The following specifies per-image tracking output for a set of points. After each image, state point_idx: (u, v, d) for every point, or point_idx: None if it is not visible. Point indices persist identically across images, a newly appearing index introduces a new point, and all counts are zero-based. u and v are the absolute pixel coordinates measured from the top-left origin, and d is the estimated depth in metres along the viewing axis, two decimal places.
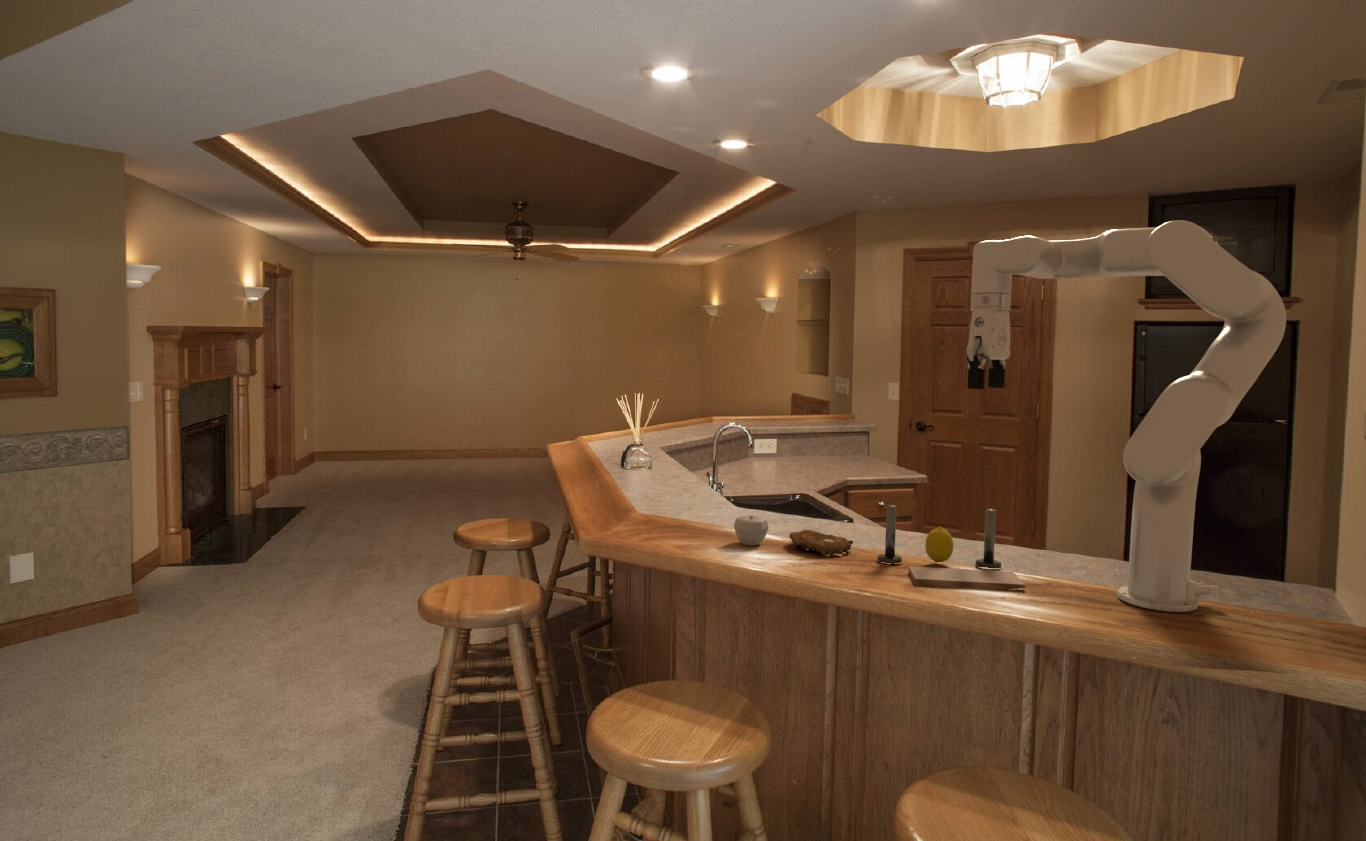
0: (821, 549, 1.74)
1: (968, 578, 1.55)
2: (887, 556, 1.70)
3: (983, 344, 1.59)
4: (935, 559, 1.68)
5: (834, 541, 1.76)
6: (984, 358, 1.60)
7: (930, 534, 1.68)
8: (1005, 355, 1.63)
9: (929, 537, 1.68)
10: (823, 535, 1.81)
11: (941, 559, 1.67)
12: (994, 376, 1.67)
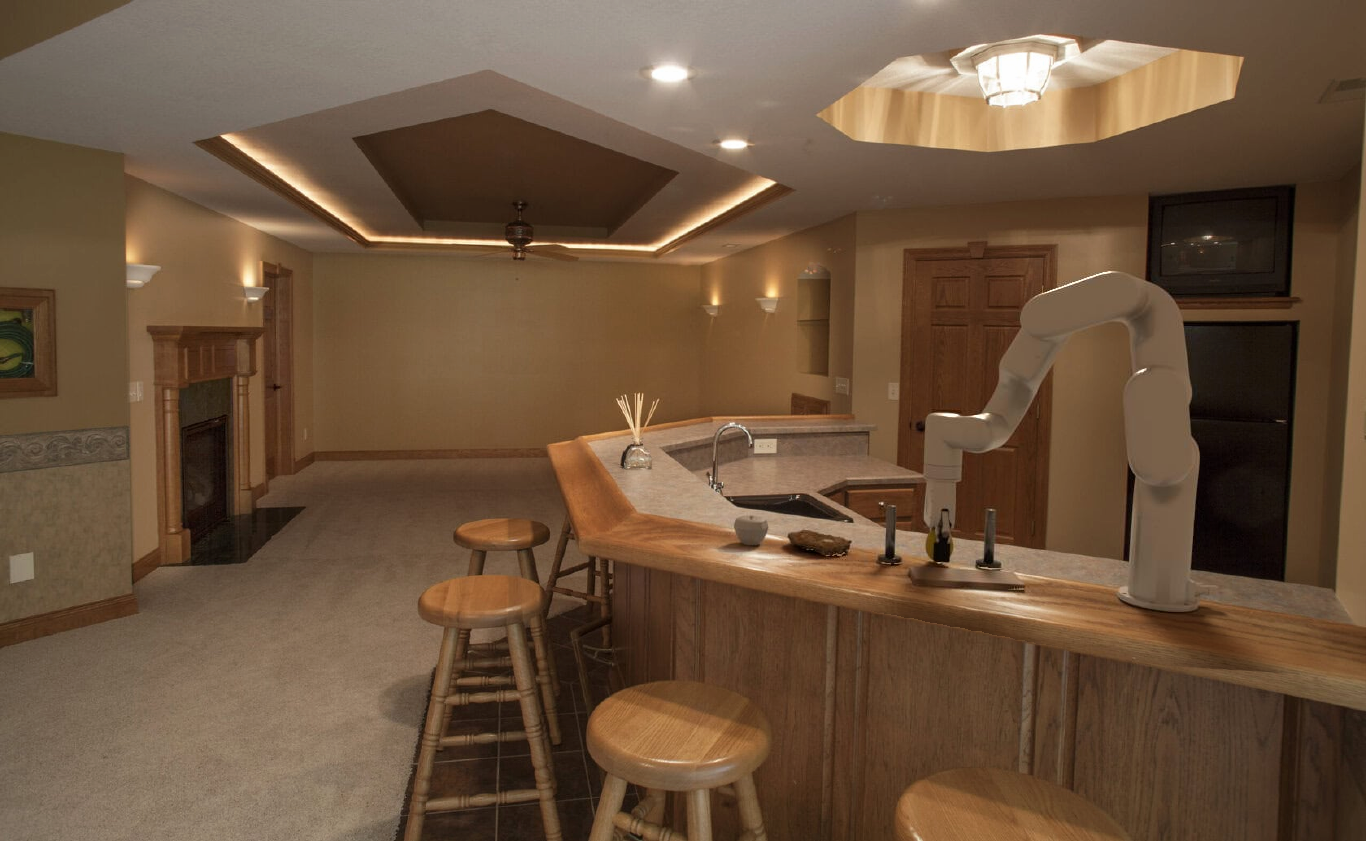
0: (821, 549, 1.74)
1: (968, 578, 1.55)
2: (887, 556, 1.70)
3: None
4: None
5: (834, 541, 1.76)
6: None
7: (930, 534, 1.68)
8: (927, 523, 1.67)
9: (929, 537, 1.68)
10: (822, 535, 1.80)
11: None
12: None
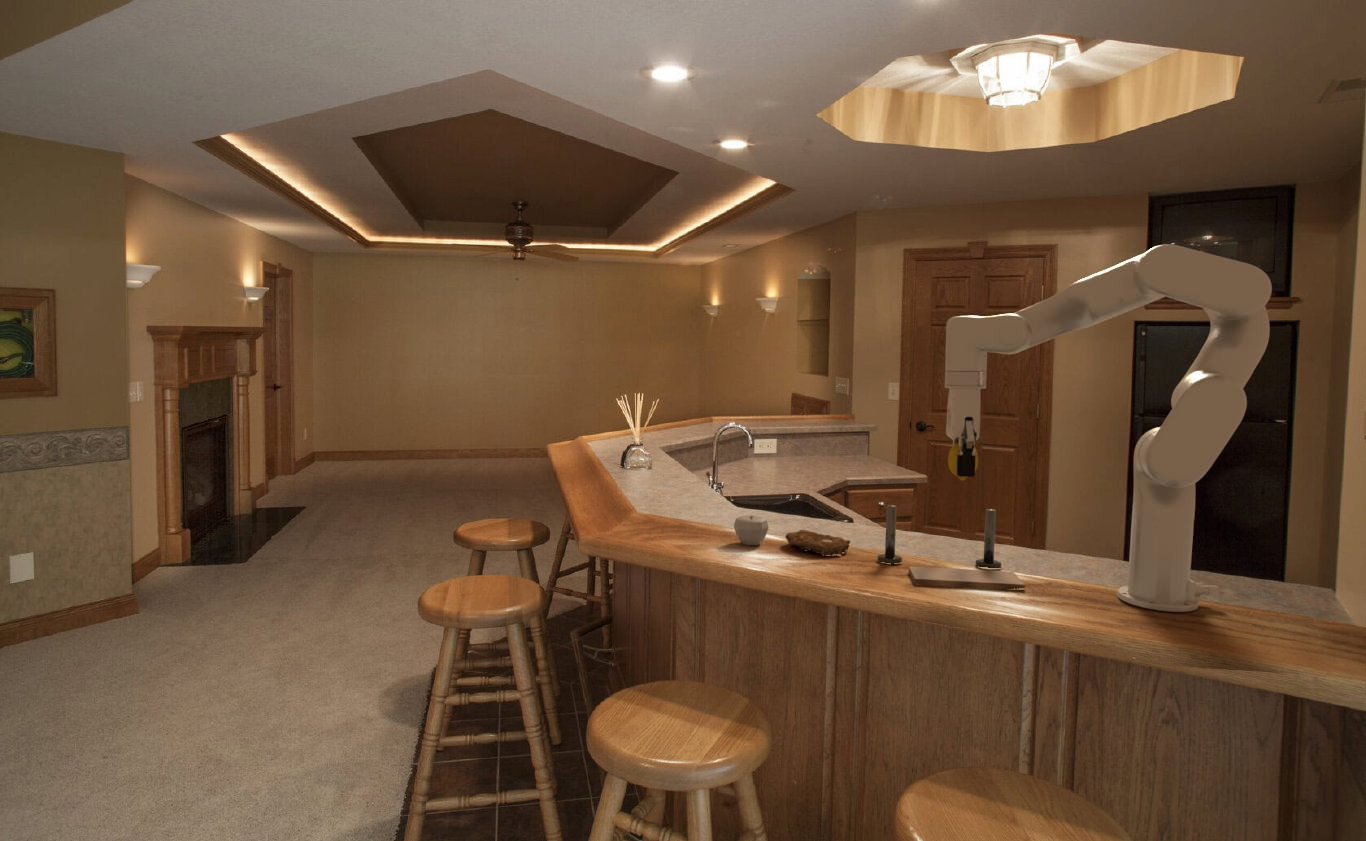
0: (821, 550, 1.74)
1: (968, 578, 1.55)
2: (887, 556, 1.70)
3: None
4: None
5: (833, 542, 1.76)
6: (953, 439, 1.60)
7: (953, 448, 1.56)
8: (950, 435, 1.55)
9: (952, 451, 1.56)
10: (820, 535, 1.80)
11: None
12: None
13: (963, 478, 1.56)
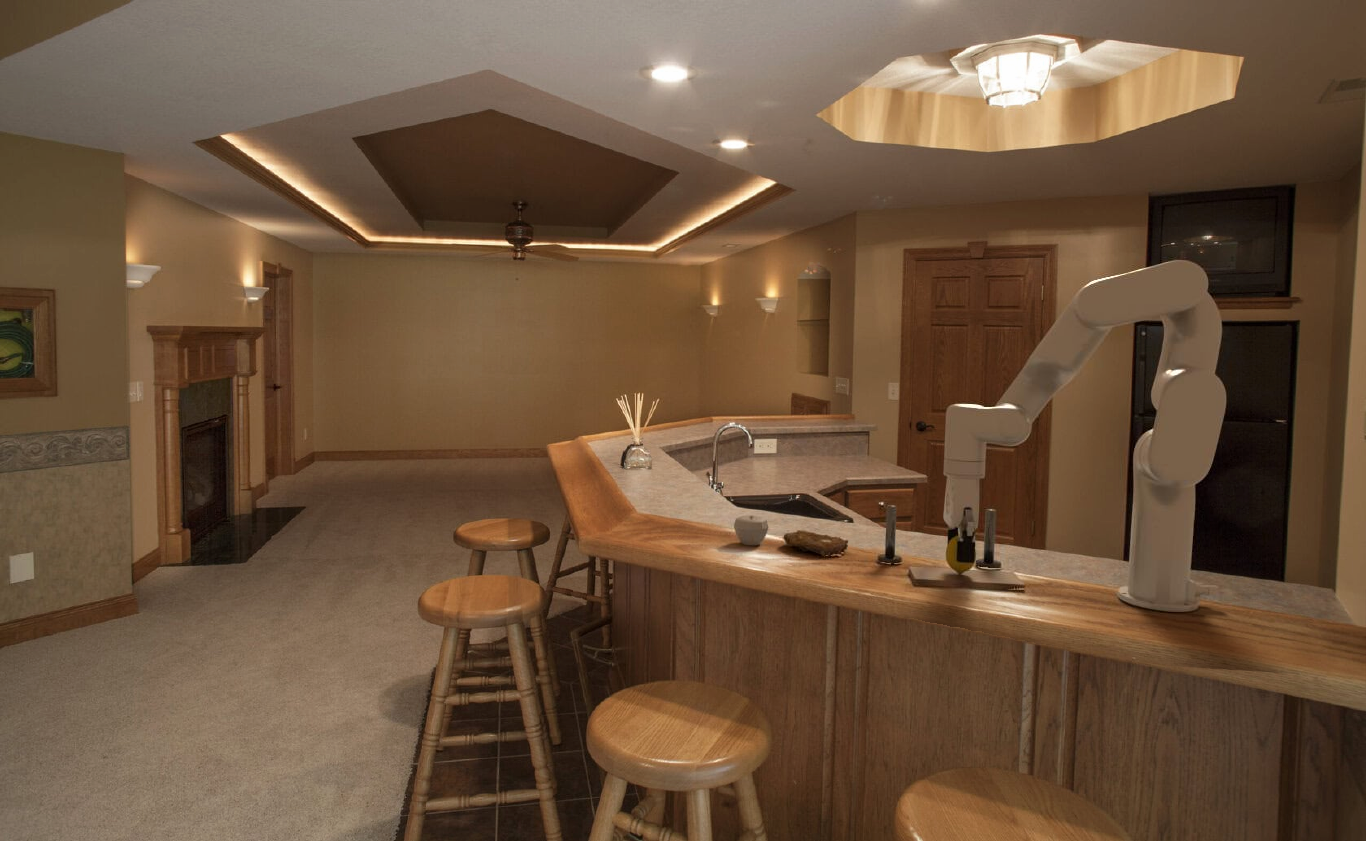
0: (821, 550, 1.73)
1: (968, 578, 1.55)
2: (887, 556, 1.70)
3: None
4: (956, 569, 1.56)
5: (832, 542, 1.76)
6: None
7: (951, 542, 1.56)
8: (948, 523, 1.55)
9: (950, 545, 1.56)
10: (819, 535, 1.80)
11: (963, 569, 1.55)
12: None
13: (961, 572, 1.56)
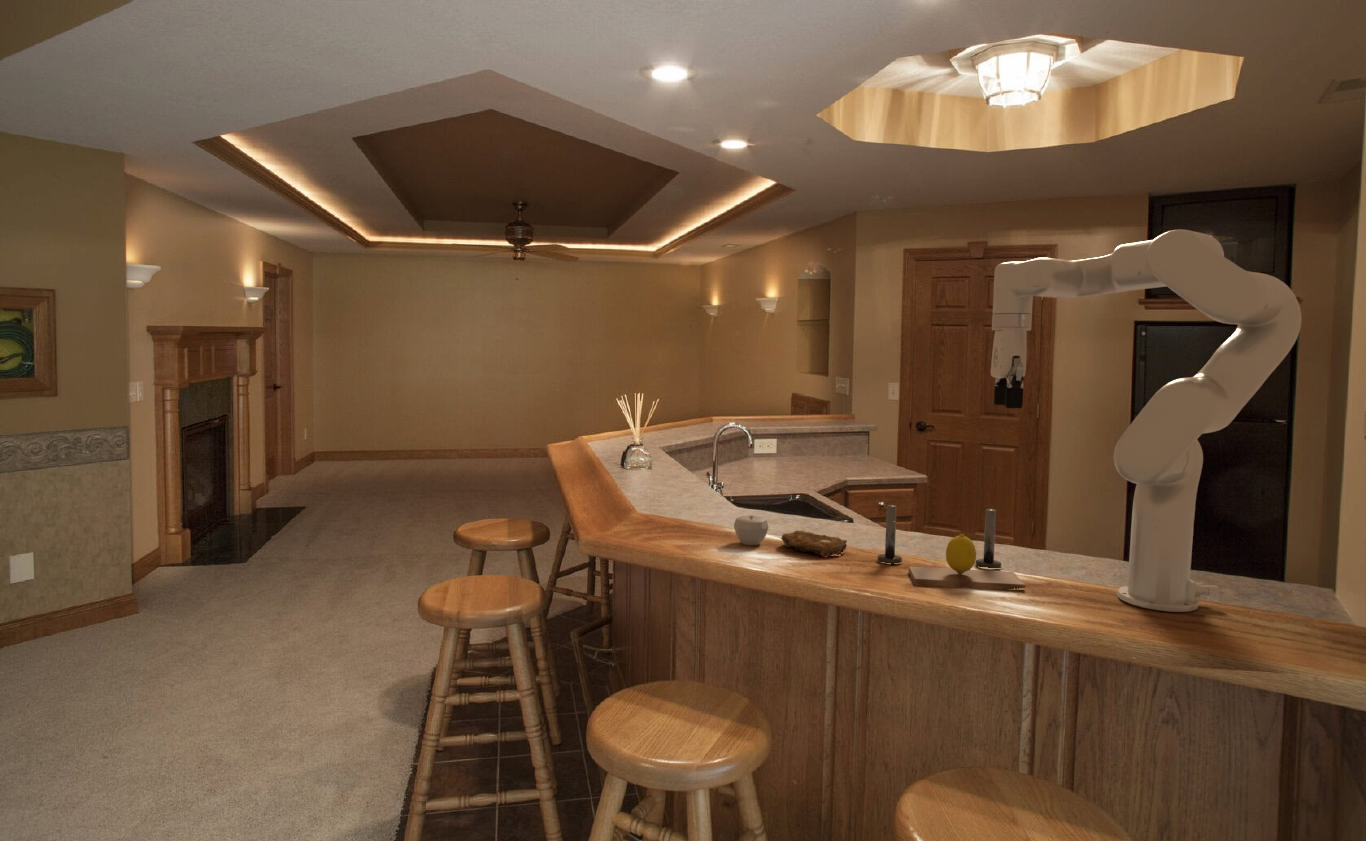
0: (821, 550, 1.73)
1: (968, 578, 1.55)
2: (887, 556, 1.70)
3: None
4: (956, 569, 1.56)
5: (832, 542, 1.76)
6: None
7: (951, 542, 1.56)
8: (997, 374, 1.65)
9: (950, 545, 1.56)
10: (817, 536, 1.80)
11: (963, 569, 1.55)
12: None
13: (961, 572, 1.56)
